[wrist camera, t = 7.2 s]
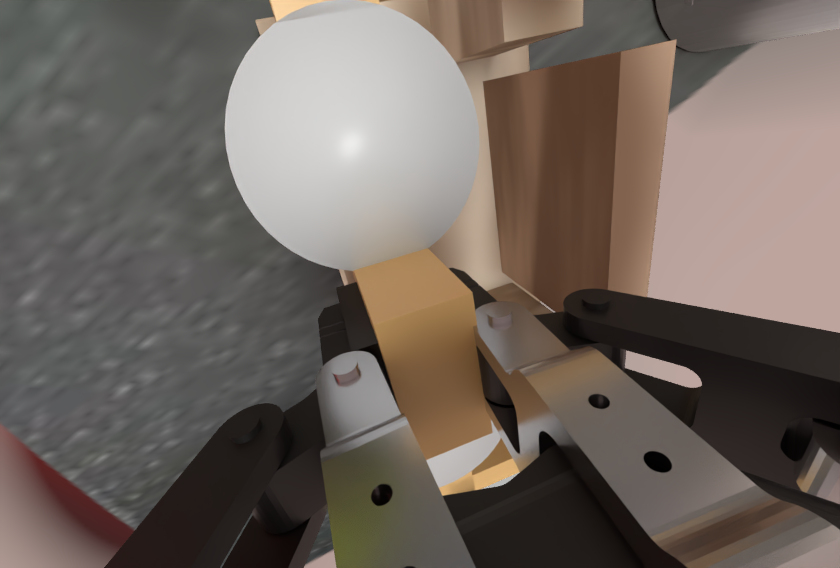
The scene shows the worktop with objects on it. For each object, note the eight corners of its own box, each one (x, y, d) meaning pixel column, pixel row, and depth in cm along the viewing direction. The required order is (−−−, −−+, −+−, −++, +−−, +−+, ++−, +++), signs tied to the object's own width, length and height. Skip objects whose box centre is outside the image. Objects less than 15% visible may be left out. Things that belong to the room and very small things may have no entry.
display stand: (508, -16, 18) (720, -153, 9) (528, 300, 27) (647, 393, 18) (258, 28, 16) (204, -96, 7) (369, 357, 25) (410, 496, 16)
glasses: (577, -70, 10) (861, -266, 5) (574, 383, 18) (683, 488, 13) (182, -14, 8) (-13, -237, 3) (371, 466, 16) (404, 626, 11)
